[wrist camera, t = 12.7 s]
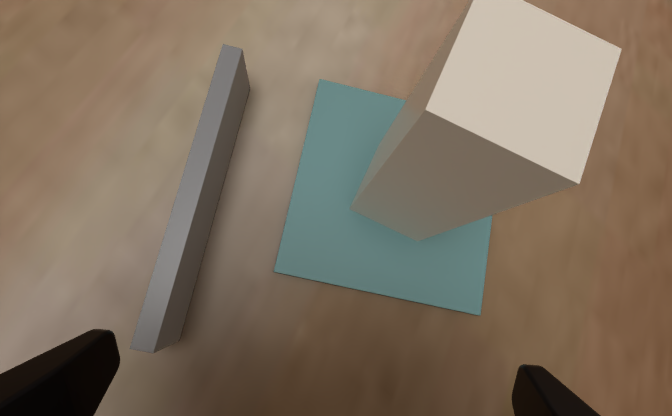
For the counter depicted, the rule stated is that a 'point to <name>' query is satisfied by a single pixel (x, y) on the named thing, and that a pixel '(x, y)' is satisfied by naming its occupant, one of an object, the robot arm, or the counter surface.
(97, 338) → the robot arm
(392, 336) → the counter surface
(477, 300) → the mat
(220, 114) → the long gray bar
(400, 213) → the tall cream pillar
